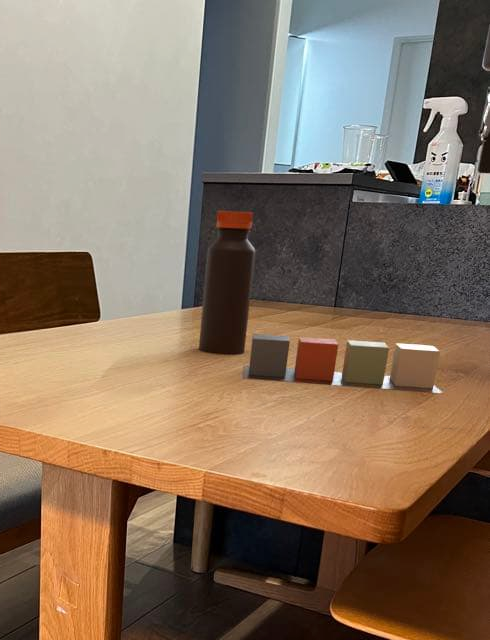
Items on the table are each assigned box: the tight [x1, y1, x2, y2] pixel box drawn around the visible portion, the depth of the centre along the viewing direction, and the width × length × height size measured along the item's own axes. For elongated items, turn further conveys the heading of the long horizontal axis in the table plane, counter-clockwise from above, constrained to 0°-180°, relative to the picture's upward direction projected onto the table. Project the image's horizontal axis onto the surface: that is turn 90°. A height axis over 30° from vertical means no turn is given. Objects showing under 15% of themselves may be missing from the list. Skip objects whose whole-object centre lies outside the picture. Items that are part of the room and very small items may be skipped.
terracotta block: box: [294, 336, 339, 381], centre depth 109 cm, size 5×5×5 cm
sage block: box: [342, 339, 390, 385], centre depth 109 cm, size 5×5×5 cm
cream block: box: [389, 342, 441, 389], centre depth 108 cm, size 5×5×5 cm
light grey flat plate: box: [242, 365, 444, 395], centre depth 110 cm, size 24×10×1 cm, turn 79°
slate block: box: [248, 333, 291, 378], centre depth 110 cm, size 5×5×5 cm
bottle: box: [198, 210, 256, 356], centre depth 125 cm, size 7×7×20 cm
